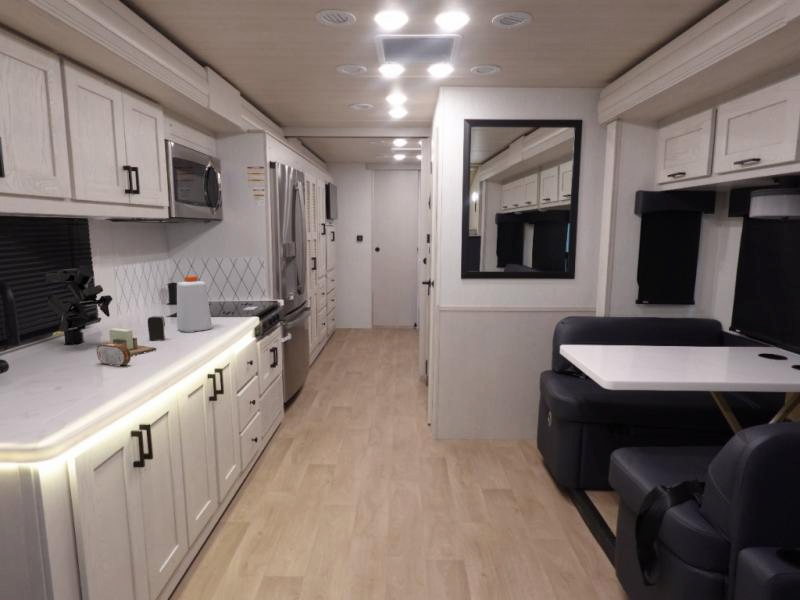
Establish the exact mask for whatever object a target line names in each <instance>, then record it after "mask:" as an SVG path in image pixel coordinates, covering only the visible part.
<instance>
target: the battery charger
mask: <svg viewBox="0 0 800 600" xmlns="http://www.w3.org/2000/svg"><path fill="white" fill-rule="evenodd" d="M165 321H166V320H165V317H164V316H162V315H154V316H150V317H148V318H147V331H148V336H149V339H148V340H149V341H164V340H165V339H166V336H165V326H166V324H165V323H166V322H165Z"/></svg>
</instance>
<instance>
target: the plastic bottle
mask: <svg viewBox="0 0 800 600" xmlns="http://www.w3.org/2000/svg"><path fill="white" fill-rule="evenodd" d="M210 309H211V307H210V303H209V295H208V289H207V283H206V282H205V281H201V280H198V276H196V275H191V276H189V275H188V276H185V277H184V281H179V282H177V284H176V328H177V330H178V331H180V332H182V333H196V332H195V331H197V332H202V330H203V331H209V330H211V329H212V328H213V323H212V317H211V311H210ZM208 329H209V330H208Z"/></svg>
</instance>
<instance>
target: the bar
mask: <svg viewBox="0 0 800 600" xmlns="http://www.w3.org/2000/svg"><path fill="white" fill-rule="evenodd" d="M108 332H109V343H113V340H114V339H119V340H126V341H127V348H128V350H129V349H133V348H134V346H133V338H134V336H133V335H134V334H133V330H132V329H125V328H117V327H116V328H115V327H113V328H109V329H108Z"/></svg>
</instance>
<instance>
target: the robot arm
mask: <svg viewBox="0 0 800 600" xmlns="http://www.w3.org/2000/svg"><path fill="white" fill-rule="evenodd" d="M45 274H46V275H45V282H52V283H53V284H54V282H60V283H69V284H68V285H67V292H68V291H69V292H70V291H72V294H74V299H69V300H68V301H67V303H66V304H65V303H63V302H62V301H61V300H60V299H59V298H57V296H55V294H54V295H52V296H50V297H48V305H49V306H48V305H47V306H48V307H49V309H51V310H52V311H54V313H56V314H57V316H59V317H60V318H61V323H60V325H59V327H58V328H59V331H60V332H61V333H64V343H63V345H64V346H65V345H66V346H67V345H68V344H70V345H80V344H82V343H83V342H84V341H85V337H84V332H83V330H85V329H86V323H87V321H90V317H89V315H88V313H86V310H85V309H84V307H90V306H96V305H97V307H99V310H100V311H101V312H102V313H103V314H104V315H105V316H106V317H108V318H109V317H110V310H109V309H110V308H109V305H110V304H111V303H112V301H113V297H112V296H111V295H109V294H108V295H101V296H100V298H99V299H97V298H98V295H99V294H101V293H102V292H104V289H103V286H102V285H100V284H99V285H98V284H97V285H95V286H90V287H87V285H89V283H90V281H91V279H92V278H93V277H94V275H95V272H94V271H93V270H92V269H91V268H89V267H86V266H85V265H80V266H78V268H69V269H68V268H66V269H61V270H59V271H57V272H56V273H55V272H54V273H45ZM68 346H69V345H68Z"/></svg>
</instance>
